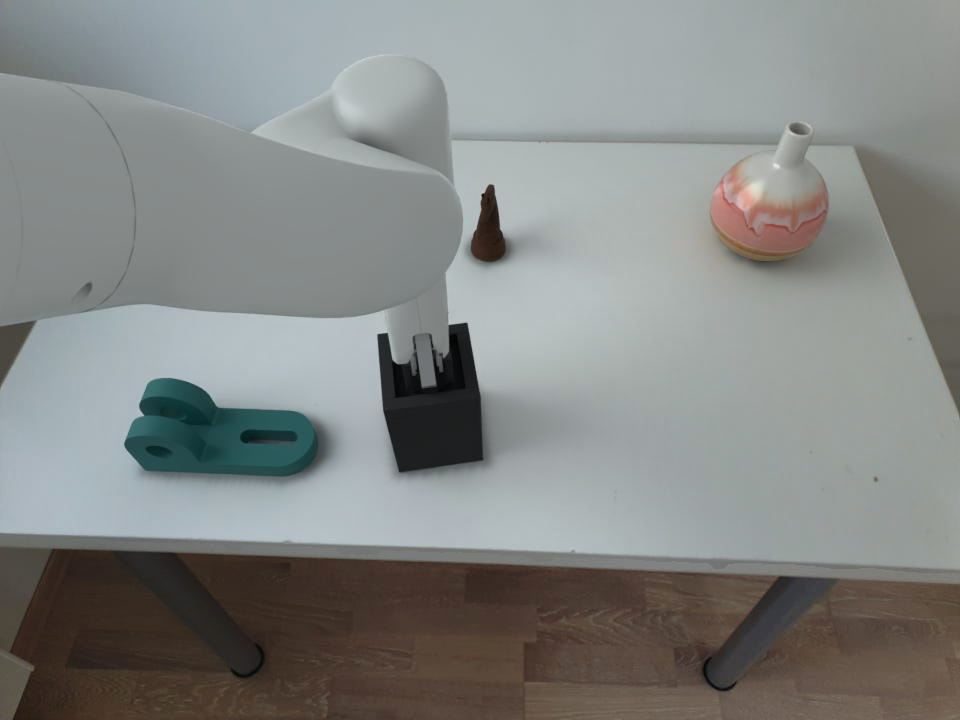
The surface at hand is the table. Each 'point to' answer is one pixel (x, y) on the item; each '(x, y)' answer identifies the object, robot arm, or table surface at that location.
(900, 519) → the table surface
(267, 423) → the bracket
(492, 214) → the chess piece
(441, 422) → the black rectangular box
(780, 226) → the vase
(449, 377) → the dark grey cube
